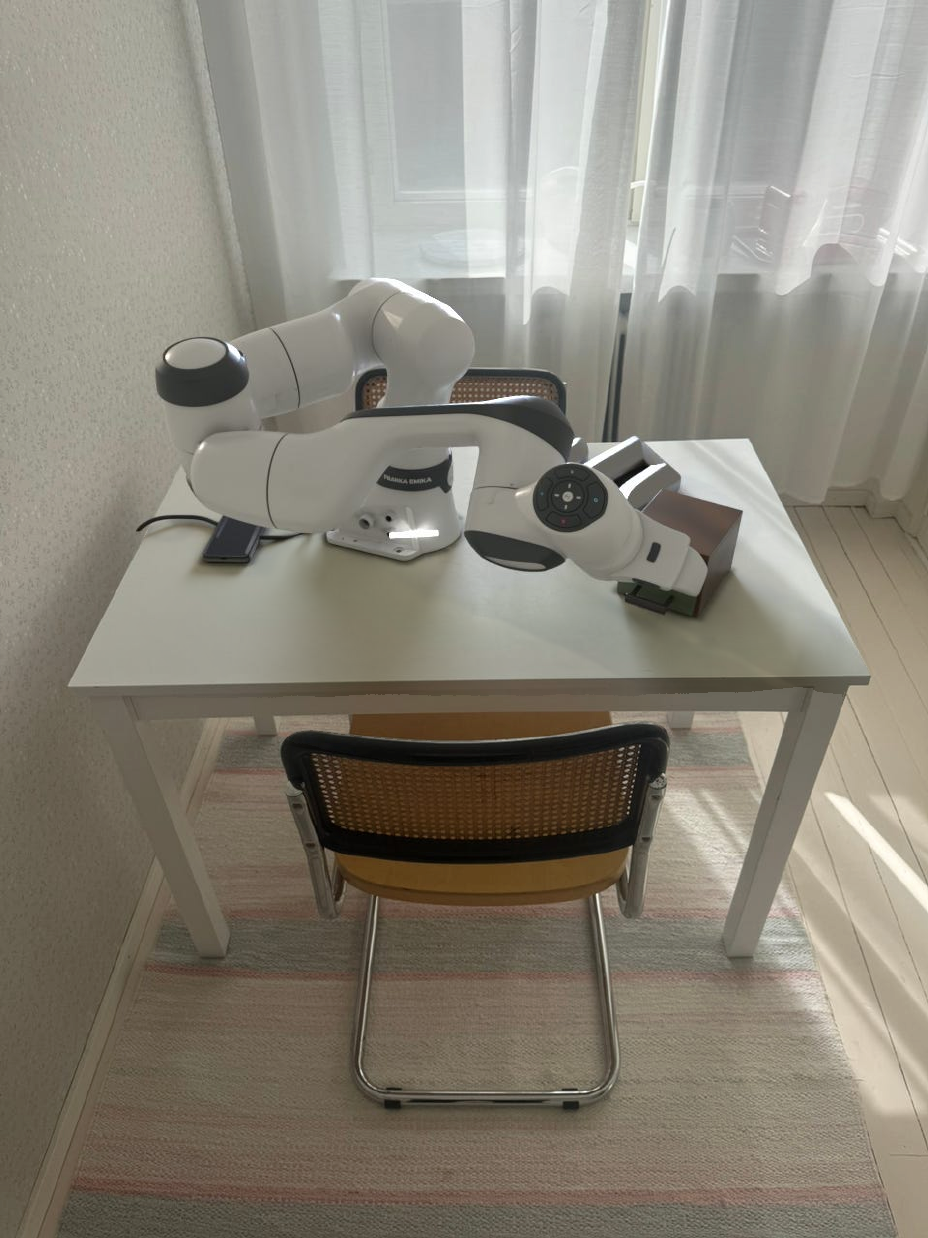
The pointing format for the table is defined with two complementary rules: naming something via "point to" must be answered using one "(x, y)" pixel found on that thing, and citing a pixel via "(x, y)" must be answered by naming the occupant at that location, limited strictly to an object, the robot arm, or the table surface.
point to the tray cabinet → (701, 534)
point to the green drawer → (657, 598)
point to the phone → (232, 541)
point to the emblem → (630, 469)
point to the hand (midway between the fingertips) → (634, 568)
